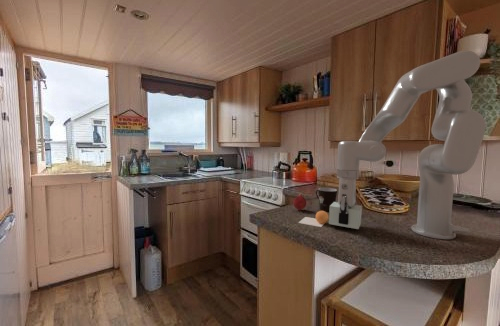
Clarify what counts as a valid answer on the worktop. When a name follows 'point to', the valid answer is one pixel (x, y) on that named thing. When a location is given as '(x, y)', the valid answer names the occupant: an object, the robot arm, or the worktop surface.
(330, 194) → the coffee mug
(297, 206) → the onion
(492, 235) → the worktop surface
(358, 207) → the pale sage box
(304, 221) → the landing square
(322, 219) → the ball
